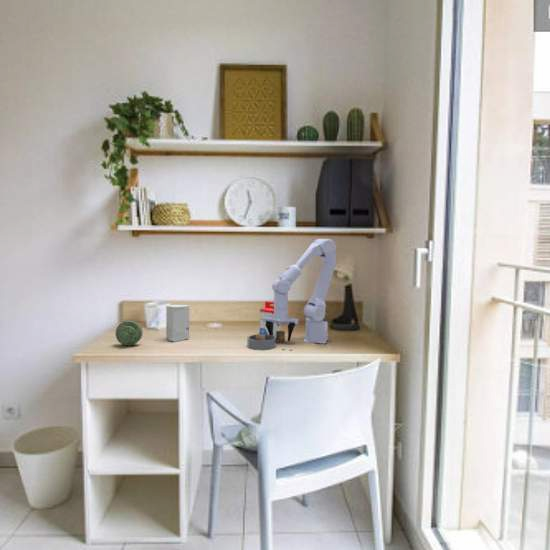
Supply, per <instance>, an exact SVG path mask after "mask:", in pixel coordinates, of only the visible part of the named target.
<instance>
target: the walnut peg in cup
mask: <svg viewBox="0 0 550 550" xmlns="http://www.w3.org/2000/svg"><path fill="white" fill-rule="evenodd" d="M255 335H256V334H255ZM256 340H259V341H265V335H264V334H260V333H257V335H256Z"/></svg>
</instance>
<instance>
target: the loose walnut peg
mask: <svg viewBox="0 0 550 550" xmlns="http://www.w3.org/2000/svg"><path fill="white" fill-rule="evenodd" d="M285 333H286V331H285V330H280V331H276V336H275V337H276V344H285V343H286V342H285V340H286V338H285V337H286V336H285V335H286V334H285Z"/></svg>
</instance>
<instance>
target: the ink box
mask: <svg viewBox="0 0 550 550" xmlns="http://www.w3.org/2000/svg"><path fill="white" fill-rule="evenodd" d="M264 317H274V301H265V302H264V307H262V308H260V310H259V334H267V335H269V332H268V329H267V327H266V325H265V324H266V322H263V318H264ZM276 331H281V323H274V324H273V336H275V337H276Z"/></svg>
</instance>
